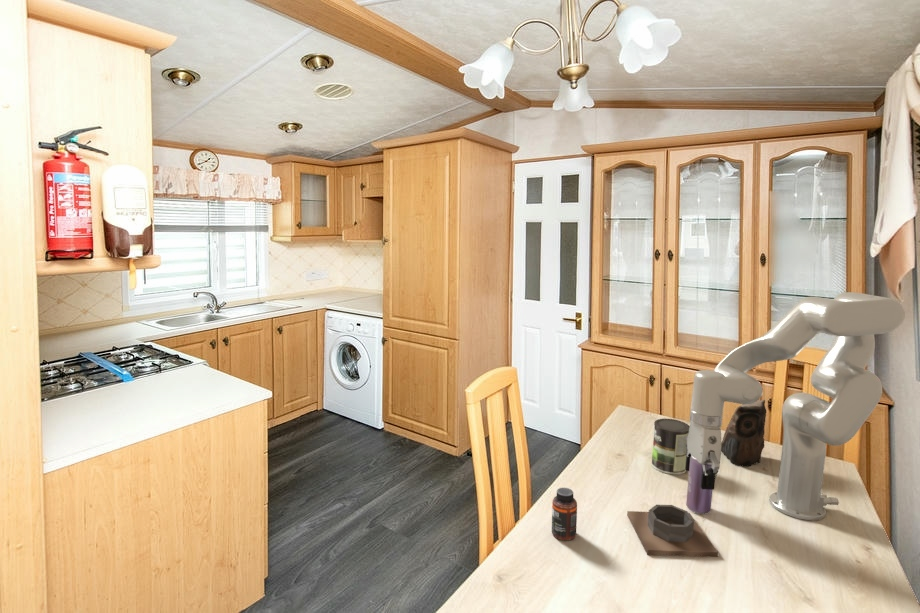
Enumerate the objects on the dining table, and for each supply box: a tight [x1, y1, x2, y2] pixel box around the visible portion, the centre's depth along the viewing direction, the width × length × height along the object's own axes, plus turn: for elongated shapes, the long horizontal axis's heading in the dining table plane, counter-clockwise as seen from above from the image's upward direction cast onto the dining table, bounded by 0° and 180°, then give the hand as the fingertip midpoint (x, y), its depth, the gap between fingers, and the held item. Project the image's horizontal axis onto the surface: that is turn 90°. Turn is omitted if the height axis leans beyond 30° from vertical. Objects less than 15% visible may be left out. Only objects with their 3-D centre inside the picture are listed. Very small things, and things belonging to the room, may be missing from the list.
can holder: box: [626, 504, 719, 558], centre depth 123 cm, size 16×16×5 cm
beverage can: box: [685, 454, 714, 515], centre depth 134 cm, size 6×6×15 cm
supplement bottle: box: [551, 487, 578, 541], centre depth 123 cm, size 6×6×11 cm
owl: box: [721, 399, 767, 468], centre depth 162 cm, size 13×13×20 cm
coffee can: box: [650, 418, 690, 476], centre depth 158 cm, size 10×10×14 cm
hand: (699, 479), depth 134 cm, fingers open, 9 cm apart
